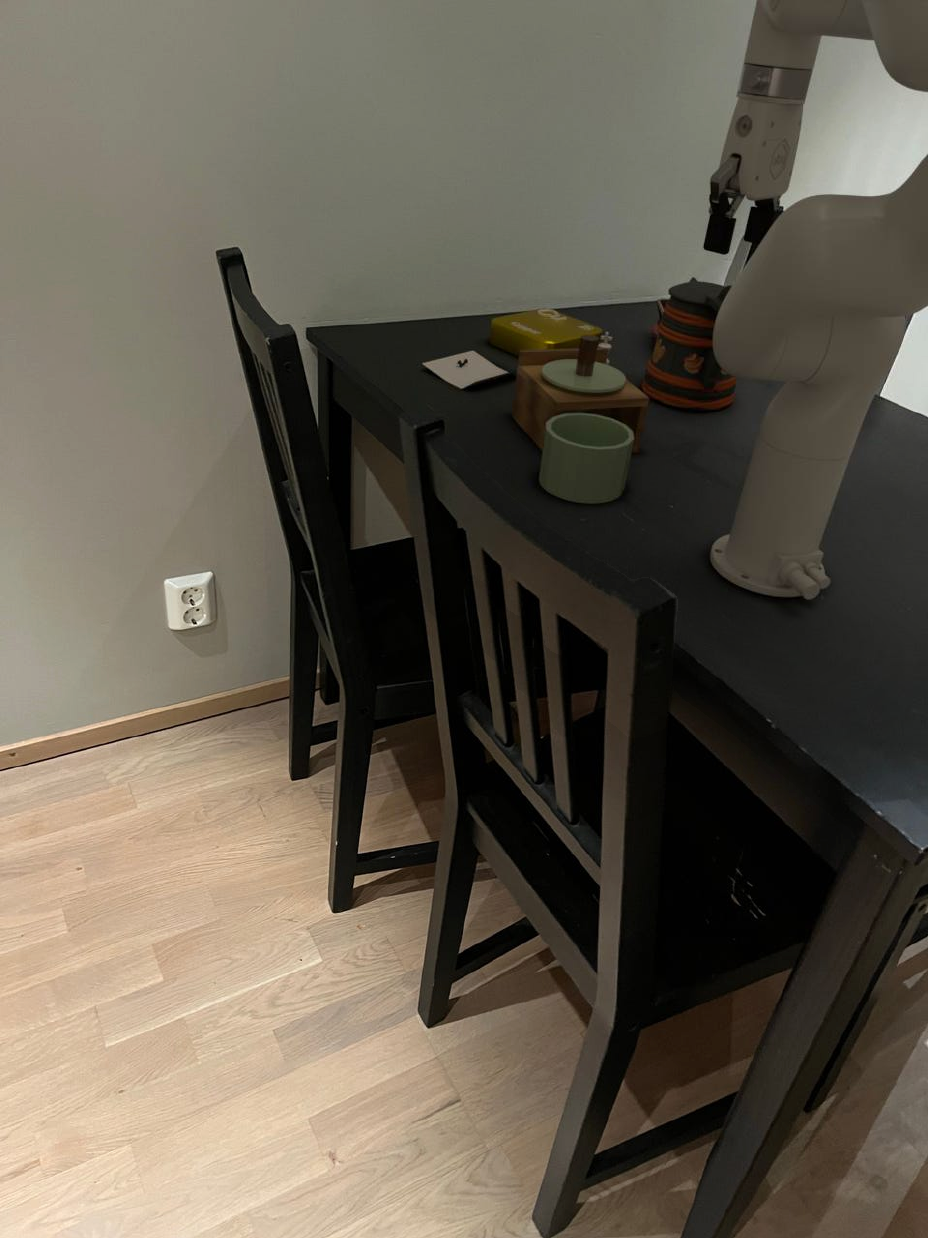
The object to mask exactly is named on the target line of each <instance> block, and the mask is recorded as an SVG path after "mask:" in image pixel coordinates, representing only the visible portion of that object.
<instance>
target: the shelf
mask: <svg viewBox="0 0 928 1238" xmlns="http://www.w3.org/2000/svg"><path fill="white" fill-rule="evenodd" d="M578 351H579V348H575V349H543V350H520V351H519V357H518V359H517V369H516V370H517V372H516V378H515V379H516V380H515V388H514V396H513V406H512V413H511V418H512V419H513V420H514V421H515V422H516V424H517V425H519V427H520V428H521V429H522V430H523V431H524V432H525V433H526V434H527V436H529V438H530V439H531V440H532V441H533V442H534V443H535V445H536V446H537V447H538V448H539V449H540V450H541V451H542V448H543V441H544V434H545V426H546V422H547V421H548V420H550V419H551V418H552V417H554V416H557V415H561V414H563V411H583V410H589V414H597V415H601V416H605V417H608V418H612V419H615V420H617V421H619V422H621V423H623V424H625V425H626V426H628V427H629V428H630V429H631V430H632V431H633V434H634V443H633V448H632V453H631V454H634V453H639V451H640V446H641V441H642V437H643V432H644V426H645V423H646V422H645V421H646V416H647V412H648V407H649V402H650V396H648V395H646V394H645V393H643V391H642V390H640V389H639V388H638V387H637V386H636V385H634V384H633V383H632V382H630V381H629V380H628V379H627V378H626V382H625V385H624V386H623V387H622V388H620V389H618V390H615V391H611V392H603V393H590V392H579V391H574V390H569V389H566V388H562V387H559V386H557V385H554V384H552V383H550V382H549V381H547V380H546V379H545V378H544V377H543V375H542V368H543V366H544V365H545V364H547V363H549V362H552V361H556V360H563V359H577V358H578ZM608 356H609V353H608V349H607V348H597V351H596V357H595V362H599V363H602V364H606V365H609V363H608V364H607V363H606V361H607V359H608Z"/></svg>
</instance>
